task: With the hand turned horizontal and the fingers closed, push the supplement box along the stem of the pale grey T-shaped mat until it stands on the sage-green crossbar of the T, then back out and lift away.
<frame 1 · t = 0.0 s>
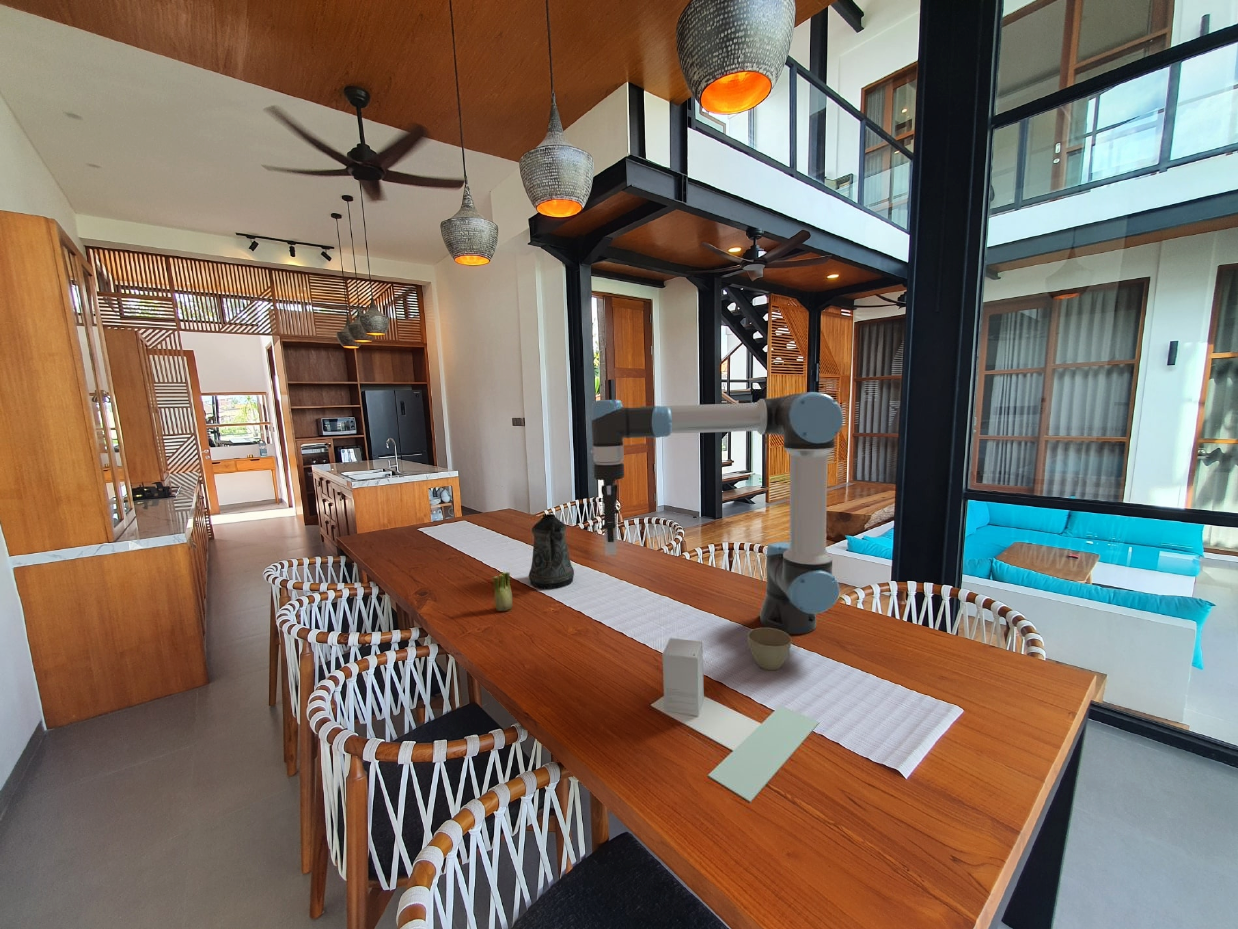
hand: (611, 546, 121), 28 cm above the table, tool pointing down, fingers open, 13 cm apart
supplement box: (684, 704, 101), resting on t mat
flower pot: (769, 665, 116), on the table
beer stein: (554, 582, 176), on the table
fennel bulb: (504, 610, 153), on the table
t mat: (720, 723, 95), on the table
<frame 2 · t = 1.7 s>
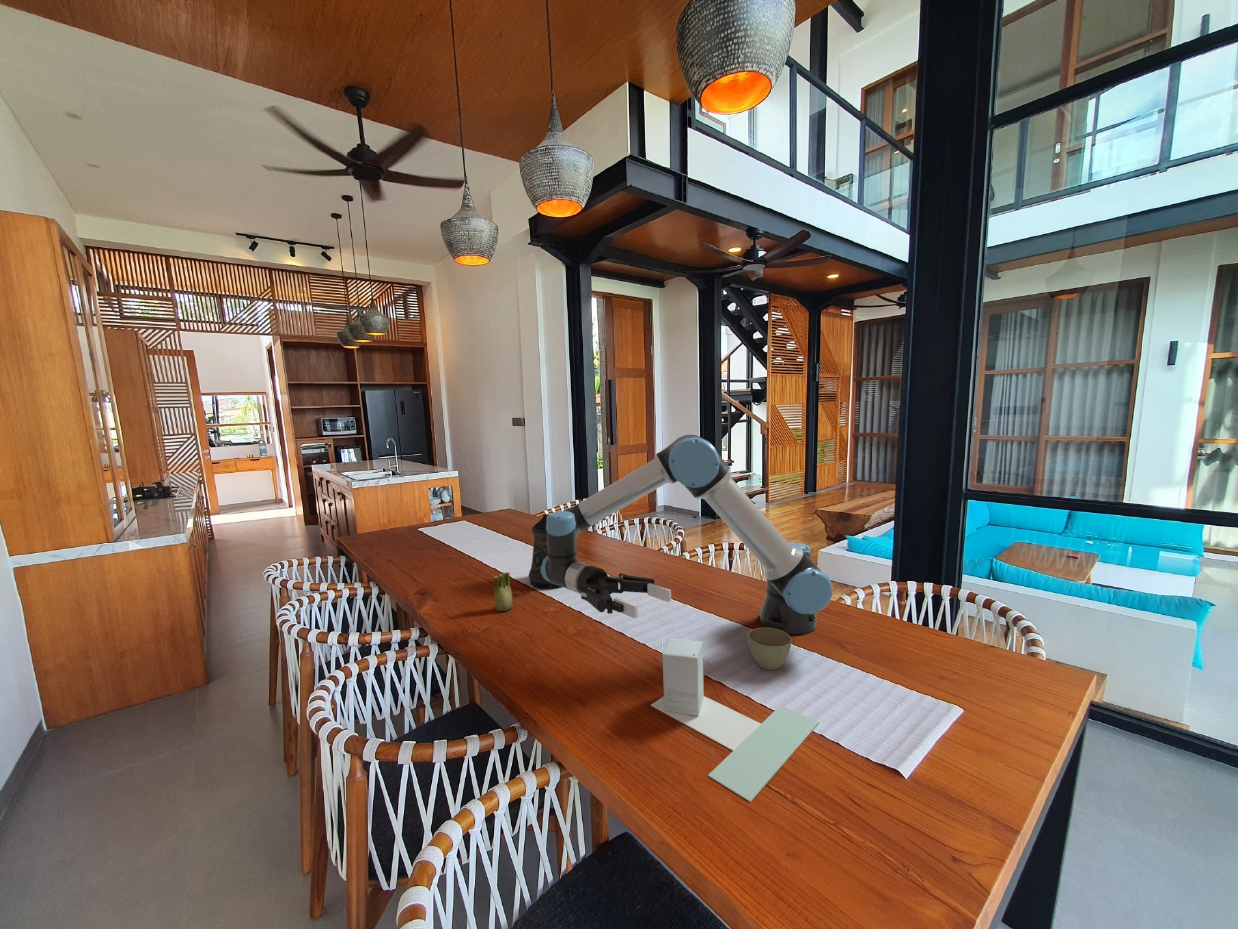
hand: (653, 603, 105), 20 cm above the table, tool horizontal, fingers open, 10 cm apart
nothing on the table moved.
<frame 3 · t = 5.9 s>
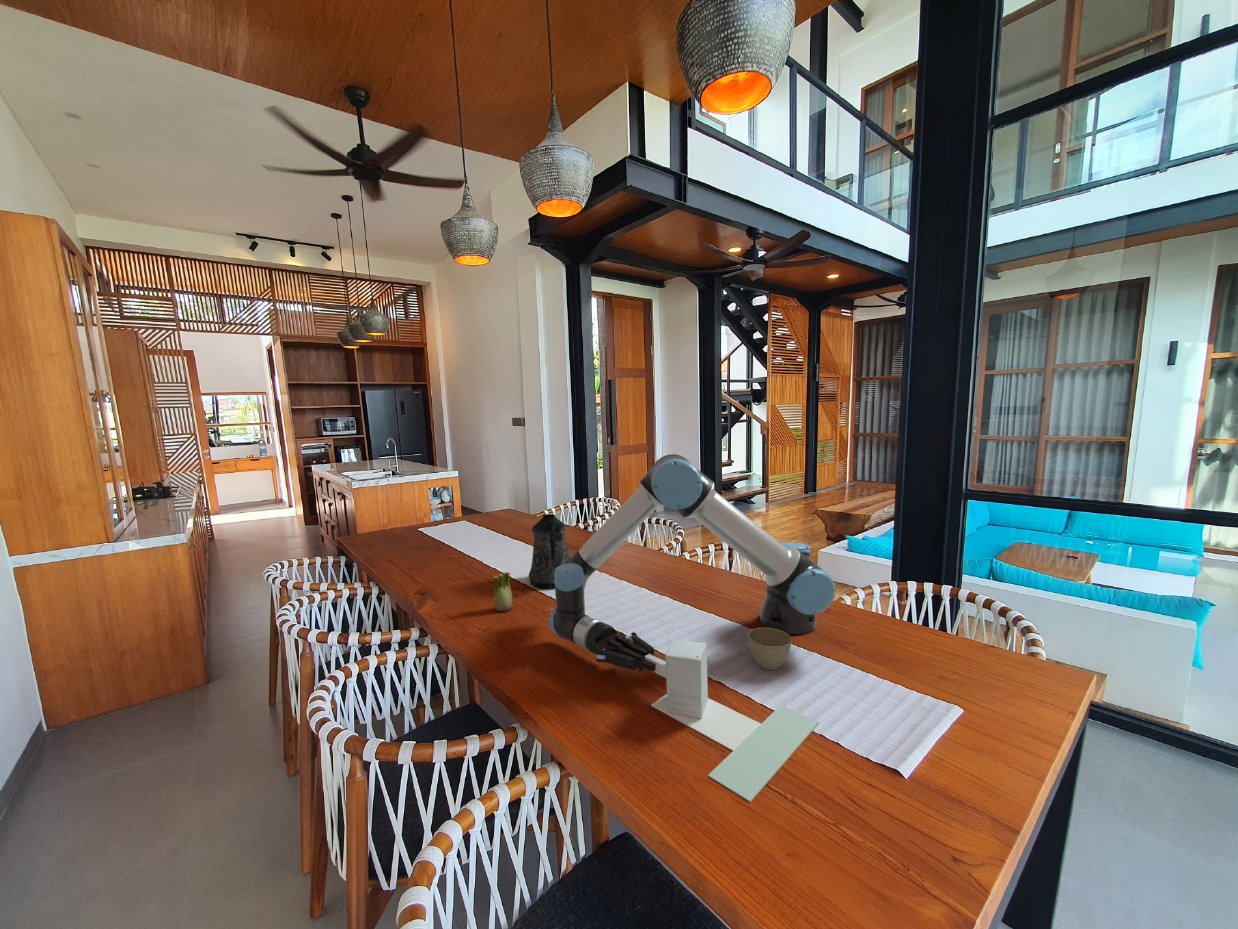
hand: (669, 671, 102), 6 cm above the table, tool horizontal, fingers closed
supplement box: (687, 706, 101), resting on t mat, touching gripper
everything else where it was.
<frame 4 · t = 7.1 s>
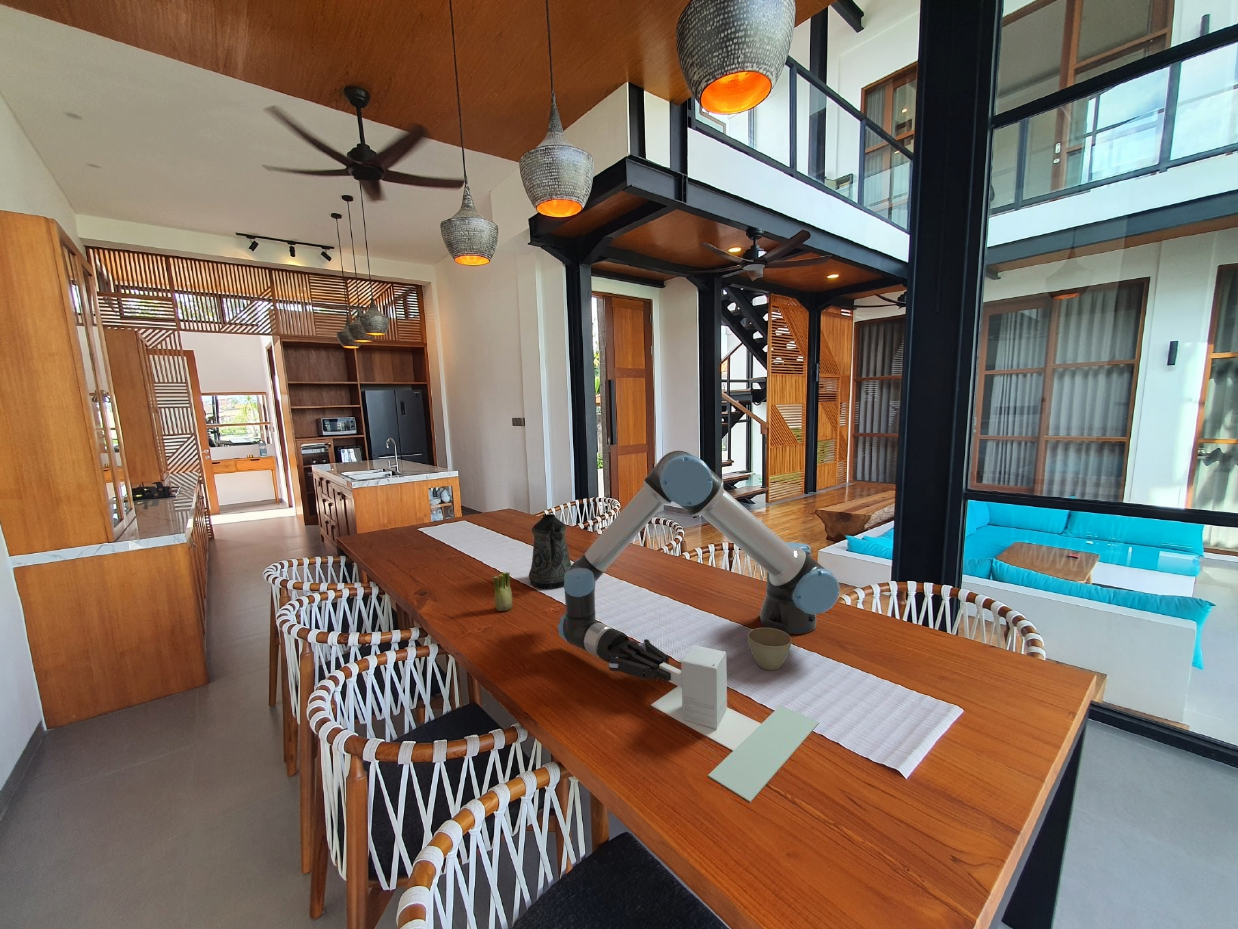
hand: (685, 681, 99), 6 cm above the table, tool horizontal, fingers closed
supplement box: (704, 715, 98), resting on t mat, touching gripper
everything else where it was.
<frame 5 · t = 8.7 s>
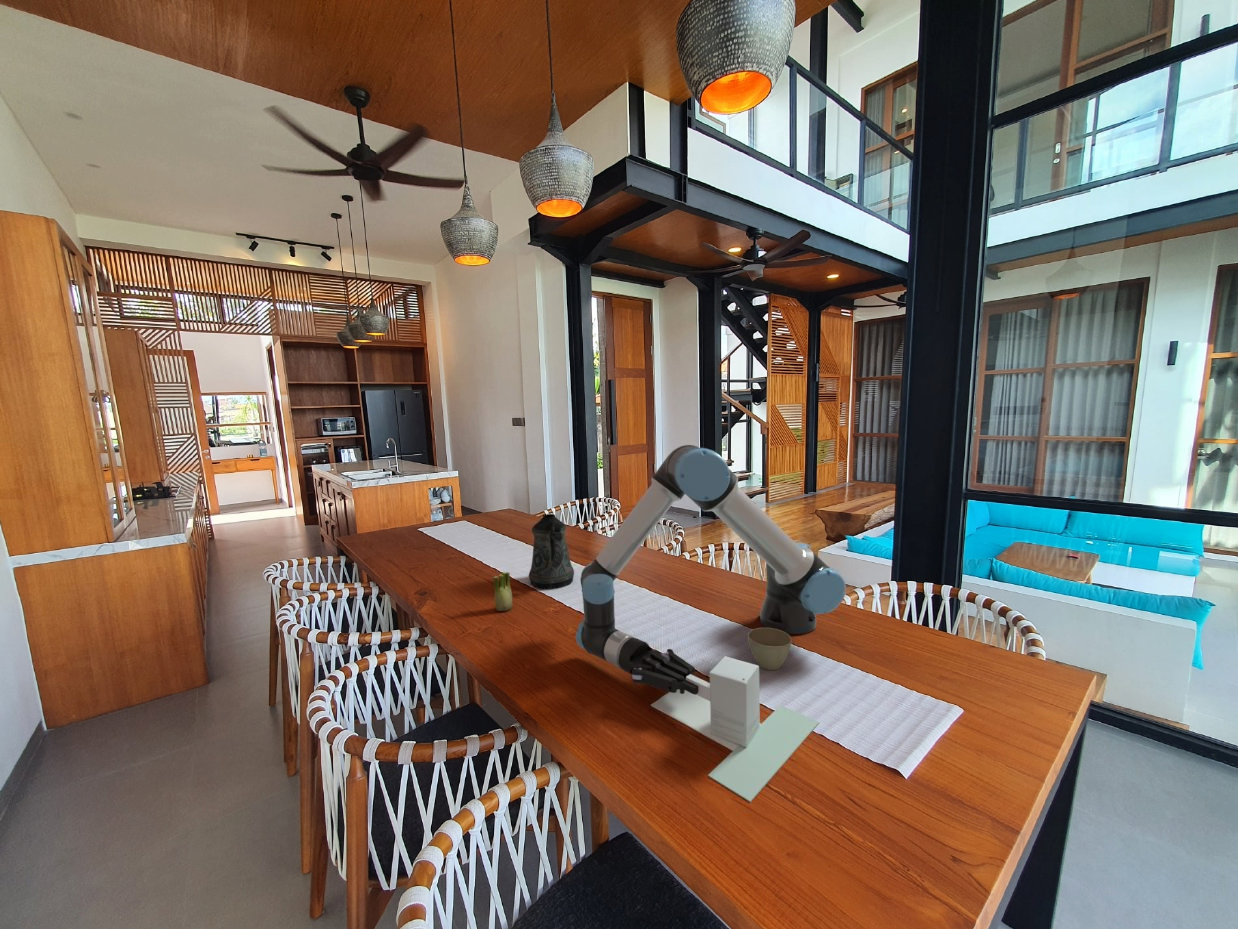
hand: (714, 694, 94), 6 cm above the table, tool horizontal, fingers closed
supplement box: (735, 731, 93), resting on t mat, touching gripper
everything else where it was.
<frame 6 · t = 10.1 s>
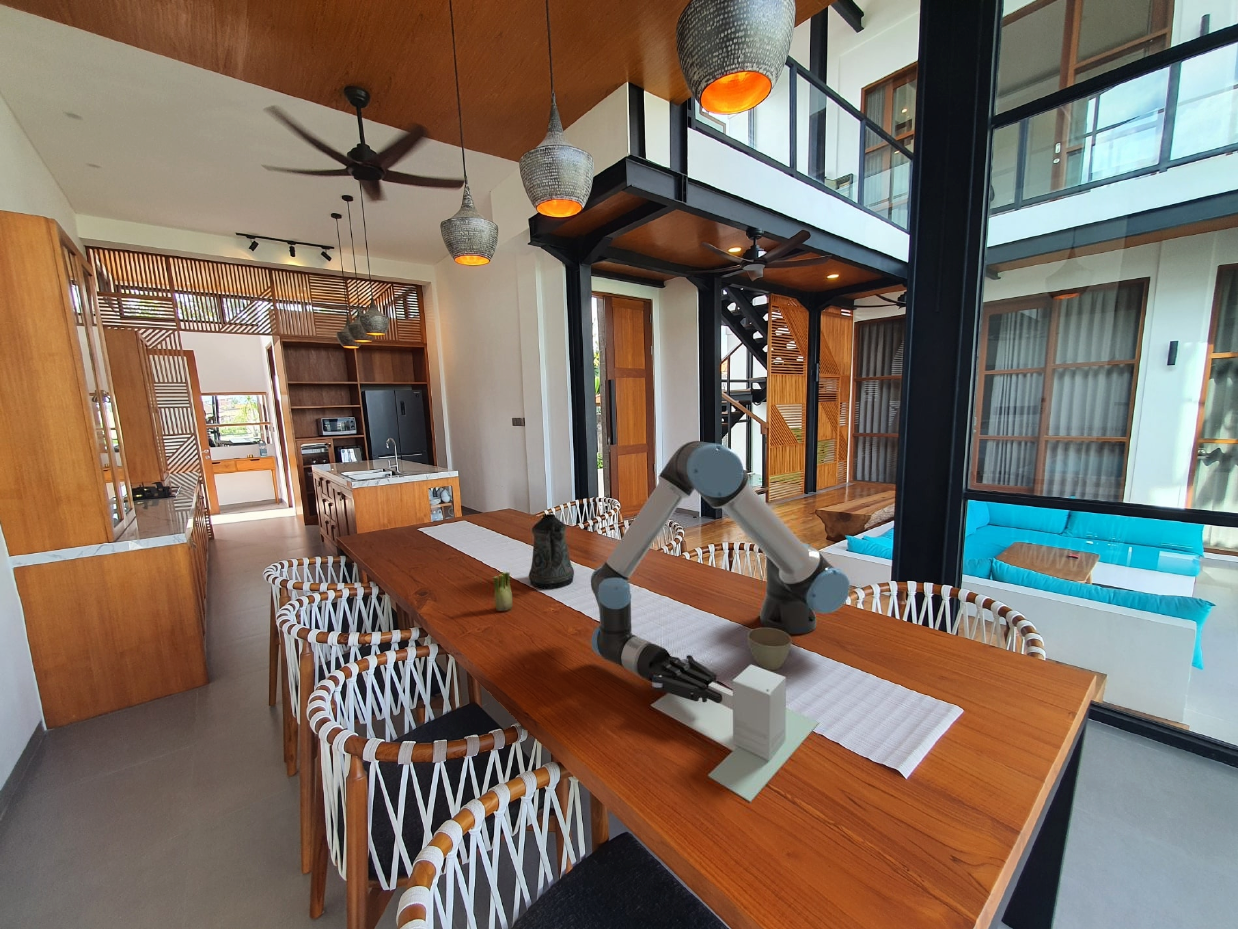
hand: (739, 703, 91), 6 cm above the table, tool horizontal, fingers closed
supplement box: (759, 743, 89), resting on t mat, touching gripper
everything else where it was.
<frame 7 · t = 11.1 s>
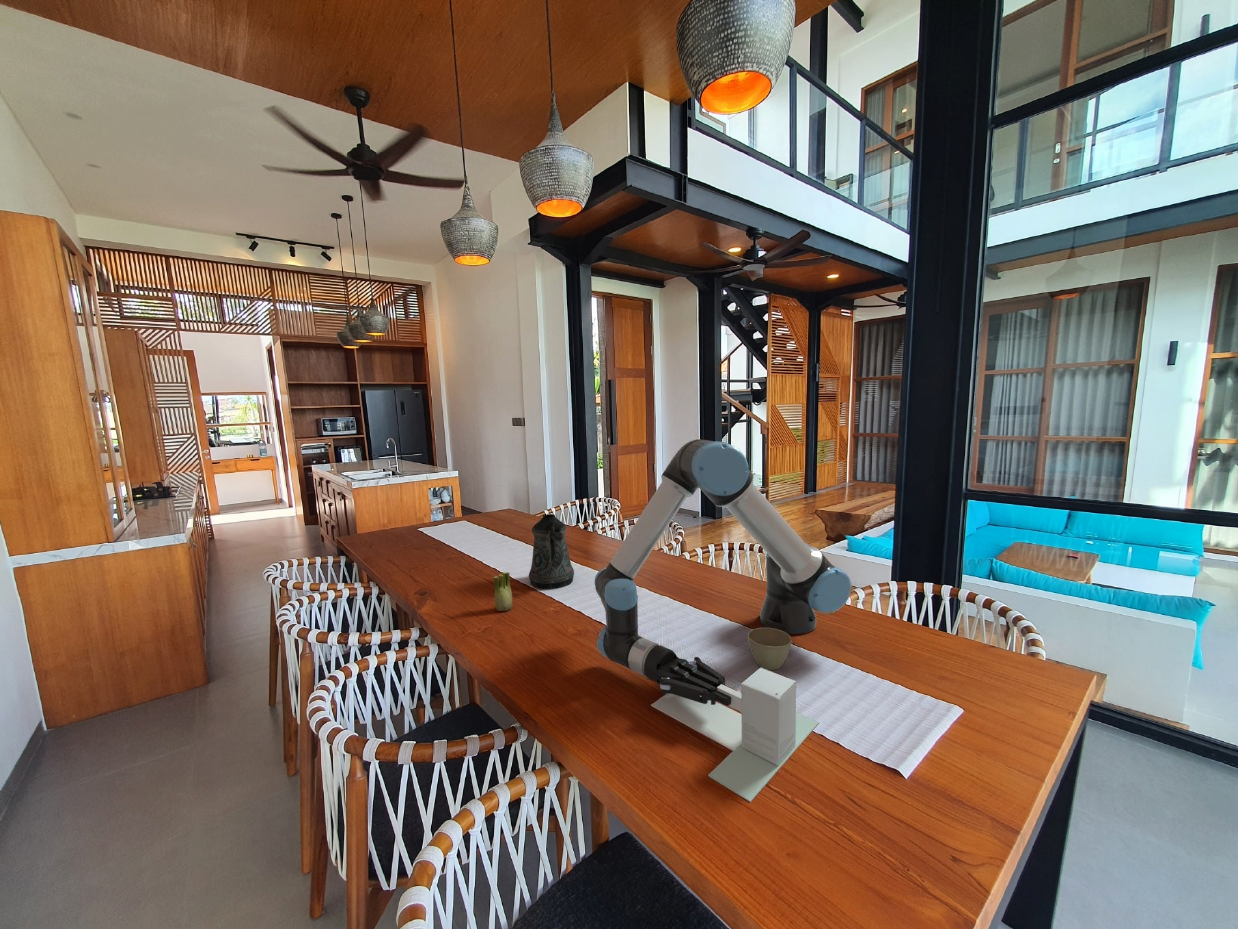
hand: (748, 706, 90), 7 cm above the table, tool horizontal, fingers closed
supplement box: (768, 747, 88), resting on t mat, touching gripper
everything else where it was.
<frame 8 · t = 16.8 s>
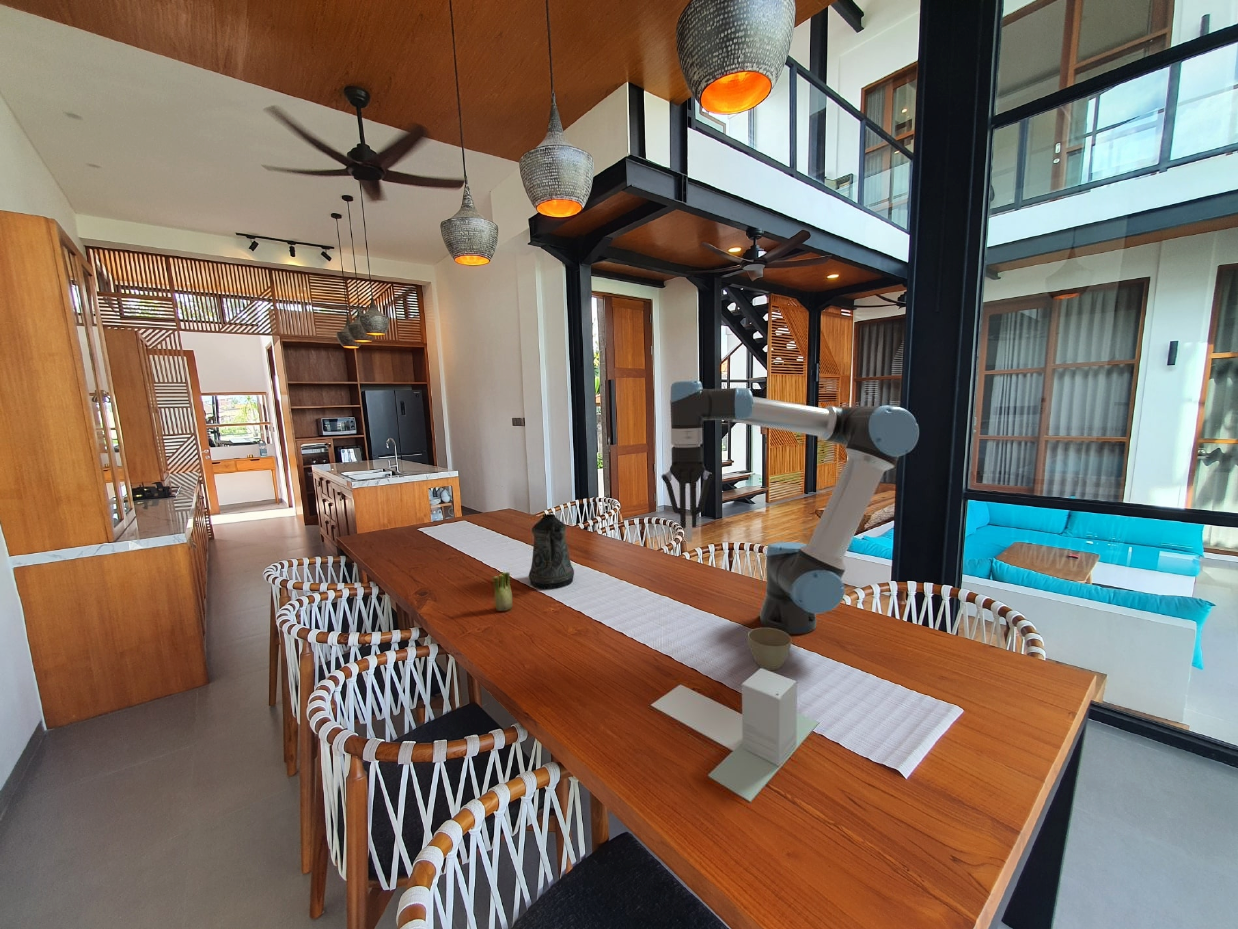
hand: (688, 540, 119), 29 cm above the table, tool pointing down, fingers closed
supplement box: (769, 747, 88), resting on t mat
everything else where it was.
at the end: supplement box inside the target area (0.4 cm from its centre), resting on t mat; supplement box tilted 0°; supplement box moved 19.3 cm from its start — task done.
